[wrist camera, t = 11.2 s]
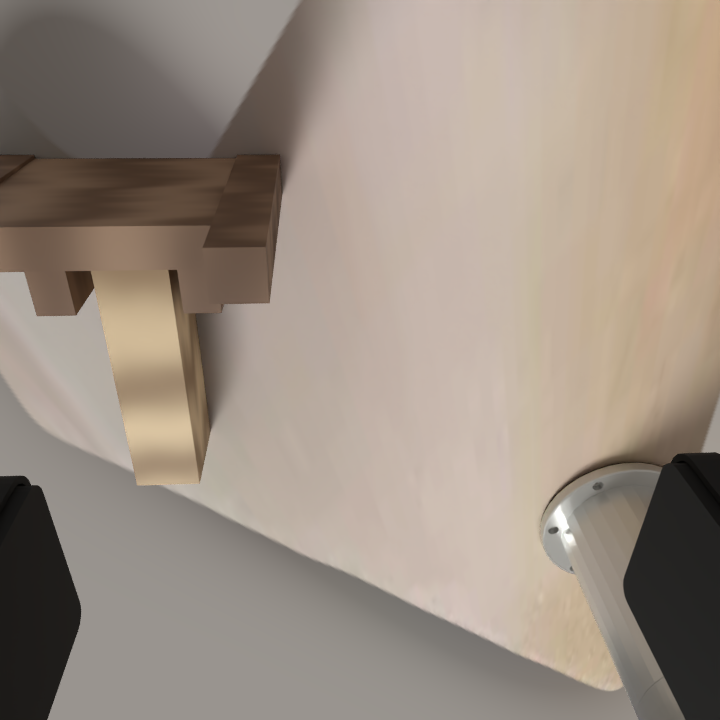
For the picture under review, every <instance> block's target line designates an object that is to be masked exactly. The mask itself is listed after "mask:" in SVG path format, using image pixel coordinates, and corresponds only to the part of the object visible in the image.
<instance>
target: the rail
mask: <svg viewBox="0 0 720 720" xmlns="http://www.w3.org/2000/svg"><path fill="white" fill-rule="evenodd" d="M91 274H92V279H93V283H94V288H95V293H96V297H97V302H98V306H99V311H100V316H101V320H102V325H103V329H104V334H105V339H106V343H107V348H108V353H109V357H110V362H111V366H112V371H113V376H114V380H115V385H116V389H117V394H118V399H119V403H120V408H121V413H122V417H123V422H124V426H125V431H126V436H127V440H128V445H129V449H130V454H131V459H132V463H133V468H134V473H135V477H136V482H137V485H168V484H200V479H201V475H202V470H203V465H204V460H205V455H206V451H207V446H208V441H209V436H210V423H209V416H208V408H207V400H206V392H205V384H204V376H203V368H202V361H201V353H200V345H199V337H198V329H197V321H196V313H186V314H184V313H183V306H182V299H181V292H180V286H179V279H178V272H177V270H119V271H91Z"/></svg>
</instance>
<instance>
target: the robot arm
mask: <svg viewBox="0 0 720 720" xmlns="http://www.w3.org/2000/svg"><path fill="white" fill-rule="evenodd" d="M540 538H541V542H542V545H543V547H544V550H545V552H546V554H547V556H548V557H549V559H550V560H551V561H552V562H553V563H554V564H555V565H556V566H558V567H559V568H560V569H562V570H564V571H566V572H568V573H571V574H575V575H576V577H577V580H578V582H579V584H580V587H581V589H582V591H583V593H584V596H585V598H586V600H587V603H588V605H589V607H590V610H591V612H592V614H593V616H594V619H595V621H596V623H597V626H598V628H599V630H600V632H601V635H602V637H603V639H604V642H605V644H606V646H607V649H608V651H609V653H610V655H611V658H612V660H613V662H614V665H615V667H616V669H617V671H618V674H619V676H620V678H621V681H622V683H623V685H624V688H625V690H626V692H627V694H628V697H629V699H630V701H631V704H632V706H633V708H634V710H635V713H636V715H637V717H638V720H720V454H718V453H715V452H714V453H684V454H677V455H676V456H675V457H674V458H673V460H672V462H671V463H669V464H666V465H664V466H663V468H662V467H659V466H656V465H653V464H645V463H623V464H617V465H612V466H607V467H604V468H601V469H598V470H595V471H592V472H590V473H588V474H586V475H584V476H582V477H580V478H578V479H577V480H575V481H574V482H572V483H571V484H569V485H568V486H566V487H565V488H564V489H563V490H562V491H561V492H560V493H558V494H557V495H556V497H555V498H554V499H553V500H552V501H551V503H550V504H549V505H548V507H547V509H546V511H545V513H544V514H543V517H542V521H541V524H540ZM80 619H81V605H80V601H79V598H78V595H77V592H76V589H75V586H74V583H73V581H72V577H71V574H70V571H69V568H68V565H67V562H66V559H65V557H64V553H63V550H62V548H61V544H60V542H59V538H58V536H57V532H56V530H55V526H54V524H53V520H52V517H51V515H50V512H49V509H48V506H47V503H46V500H45V497H44V494H43V491H42V489H41V488H40V487H39V486H37V485H32V486H31V484H30V482H29V480H28V479H27V478H26V477H25V476H0V720H47V719H48V716H49V713H50V709H51V707H52V704H53V701H54V698H55V695H56V693H57V690H58V687H59V684H60V681H61V678H62V675H63V672H64V670H65V667H66V664H67V661H68V658H69V655H70V652H71V649H72V646H73V644H74V641H75V638H76V635H77V632H78V629H79V625H80Z"/></svg>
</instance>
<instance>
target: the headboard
mask: <svg viewBox="0 0 720 720" xmlns="http://www.w3.org/2000/svg"><path fill="white" fill-rule="evenodd" d="M281 200H282V187H281V167H280V155H237V157H236V158H158V159H155V158H149V159H148V158H147V159H146V158H143V159H142V158H138V159H137V158H131V159H130V158H129V159H128V158H126V159H125V158H124V159H122V158H117V159H116V158H111V159H110V158H109V159H108V158H107V159H35V157H34V155H0V272H25V276H26V279H27V283H28V286H29V290H30V293H31V297H32V300H33V304H34V307H35V311H36V315H37V316H73V315H77V313H78V312H79V310H80V309H81V307H82V306H83V304H84V303H85V301H86V300H87V298H88V297H89V295H90V294H91V292H92V291H93V289H94V283H93V279H92V274H91V271H119V270H177V272H178V279H179V286H180V292H181V299H182V306H183V313H184V314H186V313H222V309H223V305H224V304H250V303H270V294H271V285H272V277H273V268H274V260H275V251H276V243H277V234H278V226H279V217H280V208H281Z"/></svg>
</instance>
